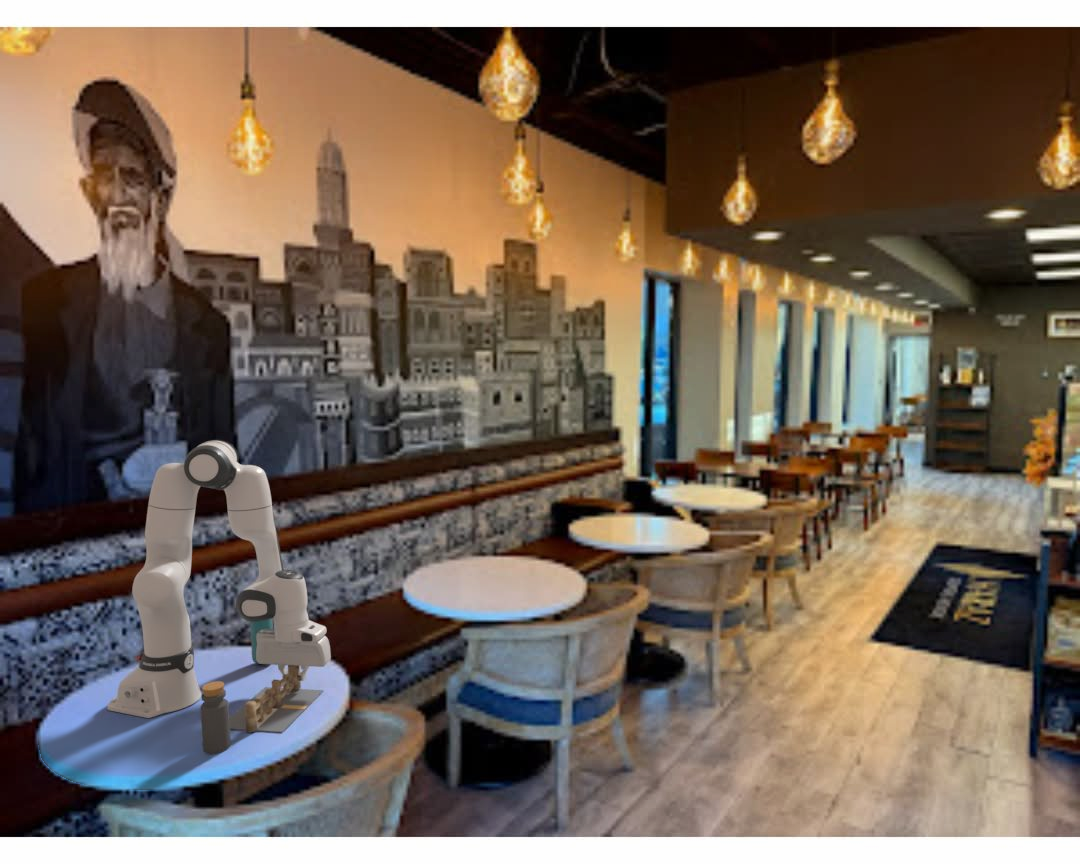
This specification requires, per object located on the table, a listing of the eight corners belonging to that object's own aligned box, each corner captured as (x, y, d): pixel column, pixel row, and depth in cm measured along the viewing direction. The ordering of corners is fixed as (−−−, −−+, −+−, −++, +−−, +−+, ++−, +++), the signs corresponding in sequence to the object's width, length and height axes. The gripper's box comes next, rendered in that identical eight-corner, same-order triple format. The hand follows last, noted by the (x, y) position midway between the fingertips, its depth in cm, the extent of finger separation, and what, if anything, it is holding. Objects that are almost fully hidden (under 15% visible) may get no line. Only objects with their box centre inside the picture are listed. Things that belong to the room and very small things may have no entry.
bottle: (229, 751, 164) (225, 689, 163) (201, 756, 163) (197, 693, 161) (232, 739, 170) (228, 678, 168) (205, 743, 168) (201, 682, 167)
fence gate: (274, 701, 187) (273, 676, 186) (292, 685, 196) (291, 661, 196) (285, 701, 186) (283, 676, 186) (302, 685, 196) (301, 661, 195)
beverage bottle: (267, 669, 209) (263, 602, 207) (247, 667, 210) (243, 601, 208) (280, 660, 215) (276, 595, 213) (260, 658, 216) (256, 594, 214)
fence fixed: (244, 731, 172) (242, 705, 172) (274, 704, 186) (273, 679, 186) (253, 732, 172) (252, 705, 171) (283, 704, 186) (282, 679, 185)
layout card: (217, 728, 175) (217, 727, 175) (265, 688, 196) (265, 686, 196) (282, 732, 172) (282, 731, 172) (323, 691, 194) (323, 689, 194)
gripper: (249, 633, 191) (252, 682, 193) (321, 636, 188) (324, 686, 190) (262, 624, 198) (265, 672, 199) (332, 627, 195) (334, 676, 196)
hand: (294, 679), depth 194 cm, fingers closed on fence gate, 3 cm apart
